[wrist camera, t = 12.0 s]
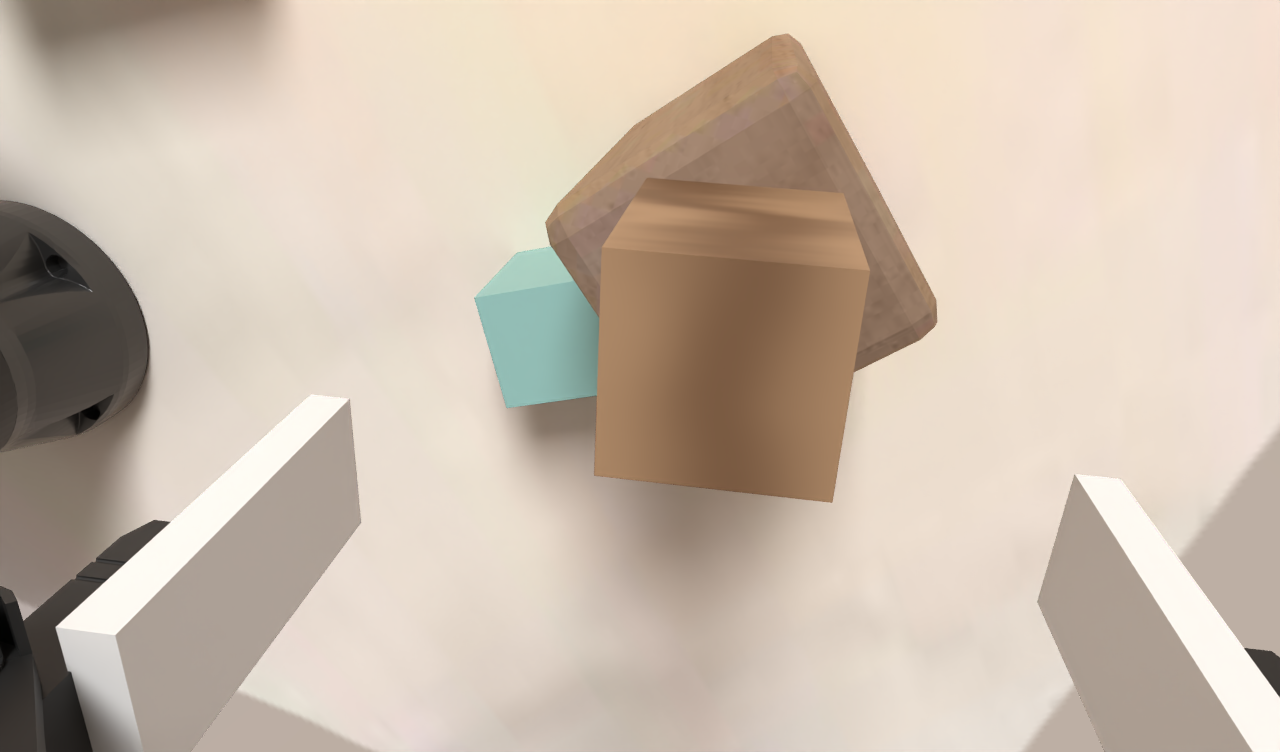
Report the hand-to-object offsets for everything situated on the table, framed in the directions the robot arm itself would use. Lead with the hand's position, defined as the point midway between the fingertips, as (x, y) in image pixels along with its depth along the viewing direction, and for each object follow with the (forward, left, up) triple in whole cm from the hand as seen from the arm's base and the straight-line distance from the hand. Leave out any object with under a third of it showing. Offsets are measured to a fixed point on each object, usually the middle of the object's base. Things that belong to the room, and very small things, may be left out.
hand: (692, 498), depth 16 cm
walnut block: (0, 0, -13) cm, 13 cm away
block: (0, 0, -34) cm, 34 cm away
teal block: (-9, -8, -33) cm, 35 cm away
